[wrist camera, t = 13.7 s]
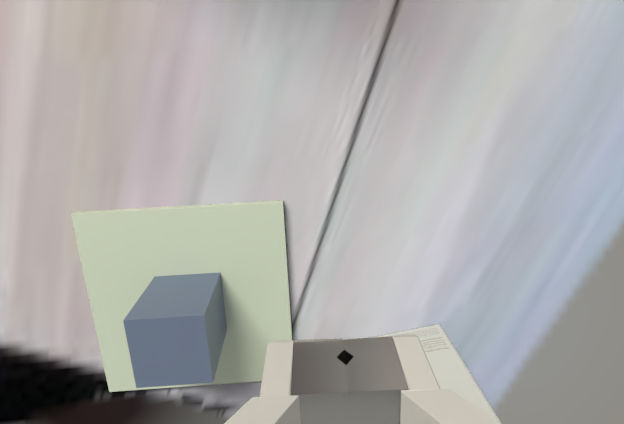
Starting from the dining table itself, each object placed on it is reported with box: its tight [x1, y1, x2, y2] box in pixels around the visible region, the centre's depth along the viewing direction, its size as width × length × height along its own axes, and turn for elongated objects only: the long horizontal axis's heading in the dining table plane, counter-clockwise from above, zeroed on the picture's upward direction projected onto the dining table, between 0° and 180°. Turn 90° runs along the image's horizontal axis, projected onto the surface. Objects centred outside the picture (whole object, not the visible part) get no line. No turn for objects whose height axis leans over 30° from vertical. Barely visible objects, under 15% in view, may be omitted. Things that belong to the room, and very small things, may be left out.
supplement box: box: [371, 324, 501, 424], centre depth 32 cm, size 7×7×13 cm
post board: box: [71, 200, 292, 392], centre depth 32 cm, size 16×16×6 cm
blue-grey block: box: [123, 272, 227, 388], centre depth 31 cm, size 5×5×7 cm
